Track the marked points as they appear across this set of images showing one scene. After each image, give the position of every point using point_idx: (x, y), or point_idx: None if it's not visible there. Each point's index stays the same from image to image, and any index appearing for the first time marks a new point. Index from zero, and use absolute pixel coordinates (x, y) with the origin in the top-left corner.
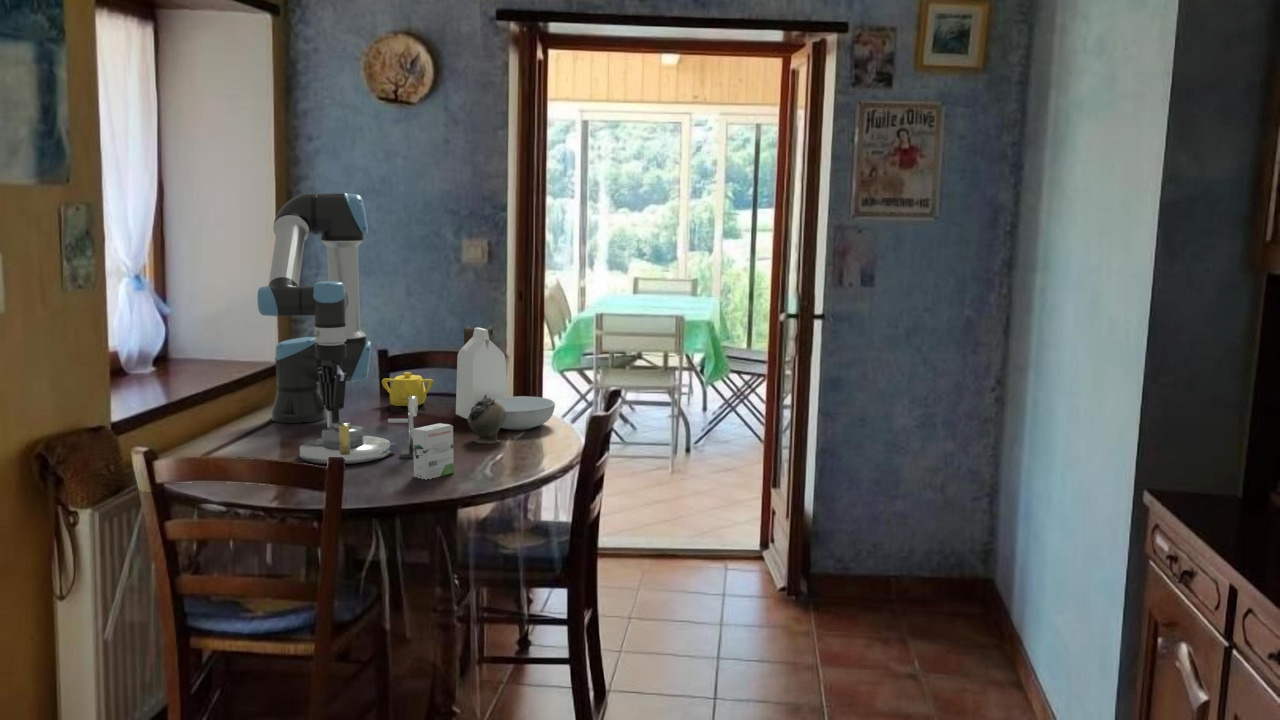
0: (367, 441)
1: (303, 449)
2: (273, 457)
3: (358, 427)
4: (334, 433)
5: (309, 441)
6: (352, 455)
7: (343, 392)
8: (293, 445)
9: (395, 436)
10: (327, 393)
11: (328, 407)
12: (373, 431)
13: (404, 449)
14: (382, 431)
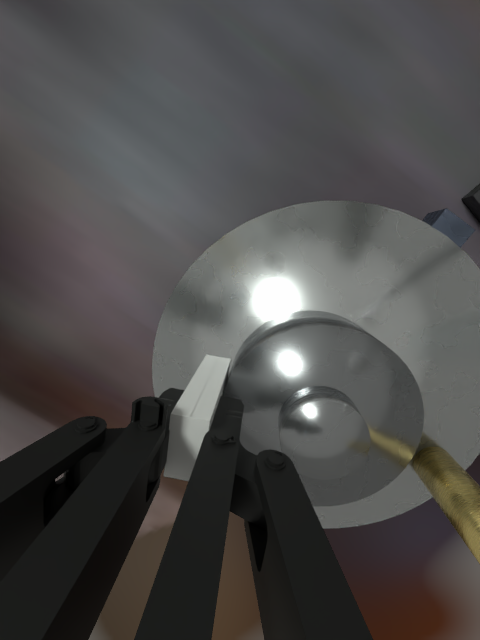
0: (334, 287)
1: None
2: (167, 508)
3: (347, 348)
4: (364, 494)
5: None
6: (474, 459)
7: (360, 637)
8: (66, 394)
9: (181, 21)
10: (105, 599)
11: (159, 477)
12: (34, 40)
13: (476, 191)
14: (57, 5)
